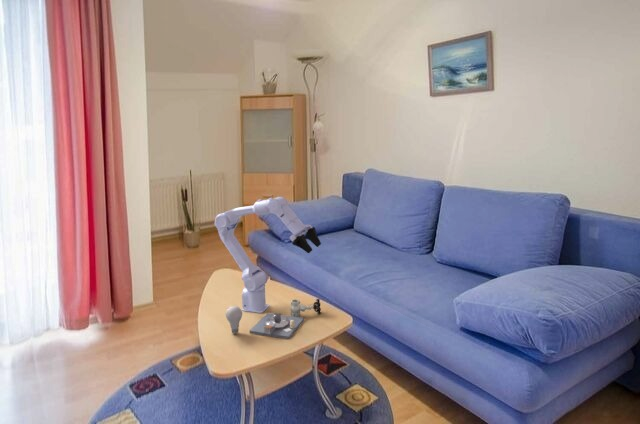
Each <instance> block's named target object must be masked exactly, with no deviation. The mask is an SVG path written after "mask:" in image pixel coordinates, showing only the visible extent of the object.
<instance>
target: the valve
mask: <svg viewBox="0 0 640 424" xmlns="http://www.w3.org/2000/svg"><path fill="white" fill-rule="evenodd" d="M315 300H316V301H315V302H313V304H312V305H311V304H310V305H305V303H303V304H301V300H299V299H296V298H295V299H291V301H290V312H291V313H290V316H292V317H300V318H301V312H303V313H304V312H305V311H306V310H311V311H312V310H314V312H315V313H316V314H317V315H321V310H322V308H321V302H320V298H315Z"/></svg>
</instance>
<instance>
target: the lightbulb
mask: <svg viewBox="0 0 640 424" xmlns="http://www.w3.org/2000/svg"><path fill="white" fill-rule="evenodd" d="M242 317H243V311H242V308H240V307H239V306H236V305H231V306H230V307H228V308H227V309H226V312H225V318H226V320H227V321H228V323H229V326H230V328H231V329H230V330H231V333H232V334H233V335H237V334H238V333H239V328H240V321H241V319H242Z"/></svg>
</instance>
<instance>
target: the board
mask: <svg viewBox="0 0 640 424" xmlns="http://www.w3.org/2000/svg"><path fill="white" fill-rule="evenodd" d="M273 314H274V313H266V314H265V315H264V316H263V317H262V318H261V319H260V320H259V321H258V322H257V323H256V324H255V325H254V326H253V327H251V329H250V330H249V334H252V335H253V334H254V335H260V336H267V337H274V338H278V339H279V338H280V339H287V340H290V338H291V337H292V336H293V335H294V333H295V332H296V331H297V329H298V328H299V327H300V326H301V325H302V324H303V323H304V322H305V318H304V317H301V316H300V317H292V316H291V315H286V314H285V315H283V314H281V316H283V317H286V318H288V319H289V324H288V326H286V327H284V328H280V329H275V330H274V331H273V332H272V333H271V334H265V330H264V327H265V326H266V320H267V319H268V318H270V317H273Z"/></svg>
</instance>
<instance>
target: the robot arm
mask: <svg viewBox="0 0 640 424" xmlns="http://www.w3.org/2000/svg"><path fill="white" fill-rule="evenodd" d="M252 214H255V215H257V216H265V215H269V214H272V215H276V217H277V218H278V219H280V220H281V222H282V223H283V225H285V227H286V228H287V229H288V231H290V232H291V235H290V236H289V239H290V241H291V242H292V245H293V246H296V247H297V248H300V249H301V250H303V251H304V252H305V253H307V254H310V253H311V252H312V251H313V248H312V247H311V245H310V244H309V242H308V241H310V242H311V243H312V244H313V245H314V246H315V247H317V248H319V246H321V244H322V242H321V240H320V238H319V237H318V234H317V230H316V227H315V226H312V225H311V224H310V223H309V224H304V223H303V221H301V219H300V218H299V217H298V215H296V213H295V212H294V211H293V210H292V209H291V207H289V205H288V201H287V199H286V198H285V197H283V196H277V197H274V198H273V197H268V199H263V200H262V199H261V198H260V199H257V201H255V203H254V204H253V205H248V206H241V207H240V206H239V207H236V208H232V209H230V210H227V211H224V212H223V213H219V214H217V215H216V216H215V218H214V226H215V228H216V229H217V233H218V235H219V238H220V240H221V241H222V243H223V244H224V246H225V248H226V249H227V251H228V252H229V253H230V255H231V257H232V259H234V261H235V262H236V265H237V266H238V267H239V269H240V270H241V271H242V275H241V280H242V281H243V284H244V285H243V286H244V288H243V290H242V292H241V301H242V302H241V304H242V308H241V310H242V312H243V311H244V312H250V313H251V312H252V313H259V314H262V313H264V312H265V310H267V309H268V308H269V307H270V304H267V302H266V284H267V282H268V274H267V273H266V272H265V271H263V269H261V267H260V266H258V265H255V264H254V263H253V262H252V260H251V258H250V257H249V255H248V254H247V252H246V251H245V249H244V248H243V246H242V244H240V242H239V240H238V238H237V237H236V236H235V234H234V233H235V230H236V228H237V226H238V224H239V222H240V219H241V218H243V216H247V215H252ZM307 240H308V241H307Z"/></svg>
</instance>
